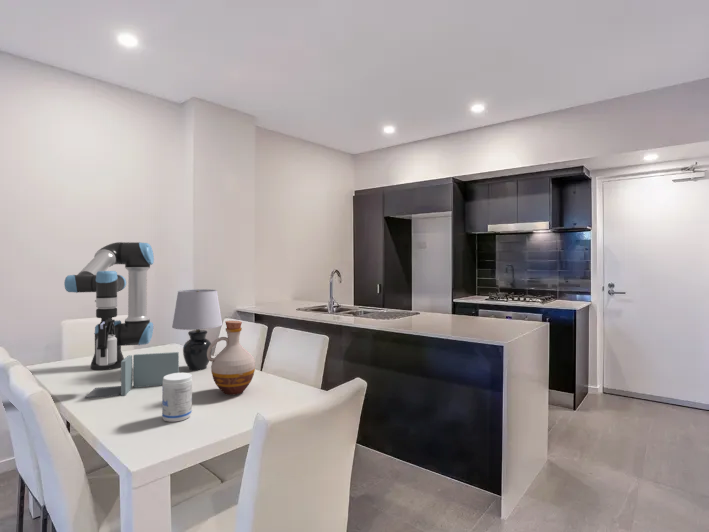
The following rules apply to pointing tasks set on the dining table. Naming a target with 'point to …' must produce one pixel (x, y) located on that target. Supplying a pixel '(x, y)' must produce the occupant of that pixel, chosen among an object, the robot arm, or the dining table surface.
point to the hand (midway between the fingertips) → (106, 362)
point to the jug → (232, 362)
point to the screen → (147, 369)
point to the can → (111, 350)
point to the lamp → (197, 323)
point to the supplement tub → (177, 397)
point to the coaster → (104, 392)
